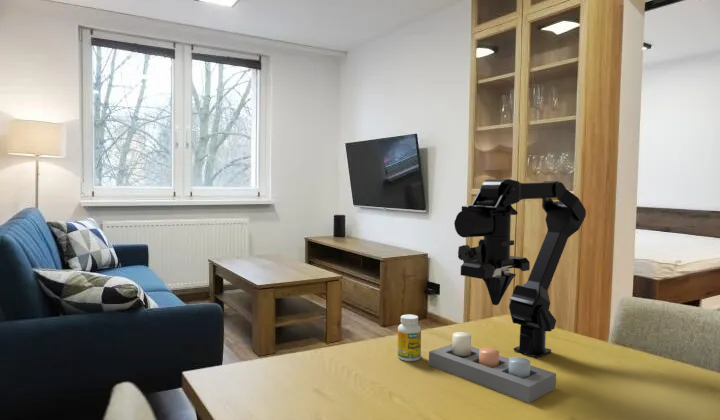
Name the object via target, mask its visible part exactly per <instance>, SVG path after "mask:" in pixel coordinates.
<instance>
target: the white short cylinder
mask: <svg viewBox="0 0 720 420" xmlns="http://www.w3.org/2000/svg"><path fill="white" fill-rule="evenodd" d="M451 341H452V343H451V344H452V353H453V354H455V355H459V356H468V355H470V354H471V347H472V334H470V333H469V332H466V331H465V332H462V331H456V332H453V333H452V340H451Z"/></svg>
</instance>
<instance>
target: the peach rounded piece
mask: <svg viewBox="0 0 720 420" xmlns="http://www.w3.org/2000/svg"><path fill="white" fill-rule="evenodd" d="M478 349H479V364H481V365H484V366H487V367H490V368H494V367H496V366H499V356H500V351H499V350H498V349H496V348H492V347H481V348H478Z"/></svg>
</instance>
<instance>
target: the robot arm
mask: <svg viewBox="0 0 720 420" xmlns="http://www.w3.org/2000/svg"><path fill="white" fill-rule="evenodd" d="M553 198H554V199H557V200H555V201H554V200H553ZM527 199H529V200H530V199H542V200H541V201H542V203H541V204H542V205H541V206H542V209H543V211H544V212H545V213H546V216H545V219H544V220H545V224H546V227H547V231H546V234H545V236H544V239H543V241H542V243H541V247H540V249H539V252H538V254H537V256H536V259H535V261H534V263H533V266H532V269H531V271H530V268H531V267H530V266H531V265H530V264H531V262H530V261H529V259H528V258H527V257H523V256H515V255H511V246H515V240H513V239H511V228H512V227H511V226H512V225H511V223H512V222H511V221H512V220H511V219H512V218H511V216H517V215H518V214H519V213H518V211H517V210H516V209H515V208H514V207H513V206H512V205H514V204H517V203H520V201H522V200H527ZM586 214H587V210H586V207H585V206H584V204H583V203H582V202H581V199H579V197H578V196H577V195H575V194H574V193H573V192H571V191H570V190H568V189H567V188H566V186H565V184H564V183H563V182H560V180H559V181H558V180H555V181H554V180H553V181H552V180H547V181H541V182H540V181H539V182H520V181H519V180H514V179H509V178H498V179H490V178H489V179H485V180H483V182H482V184H481V186H480V188H479V190H478V192H477V194H476V195H475V197H474V199H473V200H472V203H471V204H470V205H462V206H461V211H459V212H458V214H457V215H456V217H455V219H454V230H455V232H456V234H457V235H458V236H459V237H461V238H478V237H483V238H482V239H479V240H478V245H477V246H473V247H471V246H470V245H468V244H465V245H464V244H463V245H461V246H458V251H457V255H458V256H457V258H458V259H459V260H460V261H463V262H462V263H463V264H461V265H460V276H463V277H468V278H474V279H479V280H480V279H481V280H483V281H484V284H485V286H486V288H487V292H488V295H489V298H490V302H491V303H492V305H493V306H498V305H499V304H500V302H501V300H502V299H503V297H504V295H505V293H506V291H507V290H508V288H509V286H510V285H511V282H512V281H513V279H514V278H515V277H516V276H517V274H516V273H512V272H511V269H518V270H520V271H521V272H526V271H530V274H529V276H528V278H527V281H526V282H525V283H523V285H520V284H516V285H515V286H514V288H513V292H512V294H511V296H510V298H509V301H510V302H509V303H508V304H509V305H508V308H509V313H510V317H511V320H512V323H513V324H517V325H519V326H520V327H519V346H516V347H514V348H513V351H515V352H517V353H522V354H526V355H529V356H532V357H535V358H540V357H543V356H546V355H548V354H549V353H550V354H551V353H552V349H551V348H547V347H546V343H547V342H546V339H547V338H546V337H547V334H546V333H547V332H552V330H555V328H556V323H557V319H556V318H555V317H554V315H553V314H552V313H551V311H550V310H549V309H550V306H551V299H550V295H549V288H550V285H551V282H552V280H553V277H554V275H555V274H556V273H555V272H556V270H557V267H558V265H559V262H560V261H561V257H562V255H563V252H564V249H565V248H566V244H567V241H568V240H569V238H570V237H571V236H572V235H574V234H575V233H576V232H578V231H579V230H580V227H582V224H583V223H584V220H585V218H586V216H587V215H586Z"/></svg>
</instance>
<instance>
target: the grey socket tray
mask: <svg viewBox="0 0 720 420" xmlns="http://www.w3.org/2000/svg"><path fill="white" fill-rule="evenodd" d="M479 349H480V348H476V347H473V346H471V354H470V355H468V356H459V355H455V354H453V353H452V343H451V344H449V345H446V346H445V345H444V346H442V347H439V348H436V349H434V350H430V351H428V366H430V367H433V368H435V369H438V370H441V371H444V372H447V373H449V374H452V375H454V376H457V377H459V378H462V379H464V380H466V381H467V380H468V381H469V382H473V383H475V384H478V385H480V386H484V387H486V388H489V389H490V390H494V391H496V392H499V393H501V394H504V395H506V396H508V397H512V398H514V399H517V400H520V401H523V402H524V403H528V404H530V403H532V402H533V401H535V400H537V399H539V398H541V397H543V396H544V395H546V394H548V393H550V392H552V391H554V390H555V389H556V388H557V387H556V386H557V385H556V384H557V372H553V371H550V370H547V369H543V368H540V367H537V366H533V365H531V364H530V377H527V378H525V379H522V378H519V377H516V376H513V375H510V374H509V358H510V357H509V358H508V357H506V356H502V355H499V366H496V367H494V368H490V367H487V366H484V365H481V364H479Z"/></svg>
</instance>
